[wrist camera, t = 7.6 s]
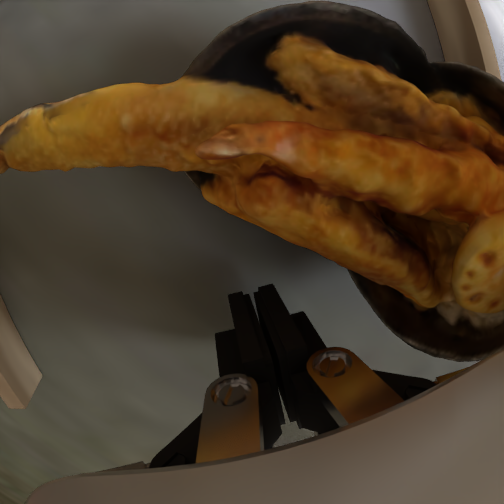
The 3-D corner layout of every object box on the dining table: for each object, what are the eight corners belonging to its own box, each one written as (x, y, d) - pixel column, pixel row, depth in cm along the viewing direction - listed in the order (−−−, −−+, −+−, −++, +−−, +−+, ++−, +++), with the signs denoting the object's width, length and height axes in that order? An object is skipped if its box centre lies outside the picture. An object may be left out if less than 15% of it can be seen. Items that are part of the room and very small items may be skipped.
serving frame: (411, -66, 7) (435, -83, 5) (472, 267, 14) (503, 284, 12) (-52, 20, 5) (-79, 10, 3) (26, 376, 12) (9, 408, 9)
